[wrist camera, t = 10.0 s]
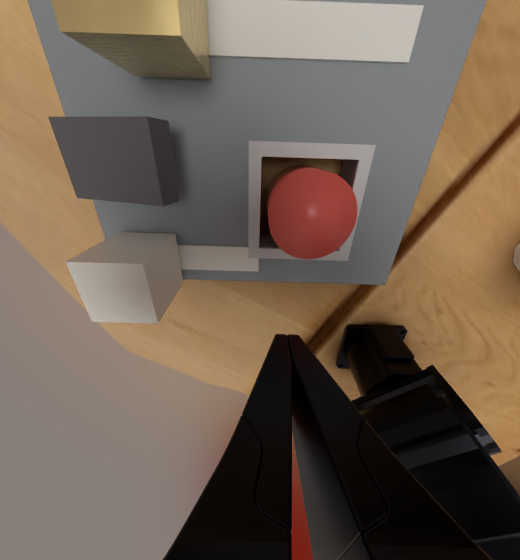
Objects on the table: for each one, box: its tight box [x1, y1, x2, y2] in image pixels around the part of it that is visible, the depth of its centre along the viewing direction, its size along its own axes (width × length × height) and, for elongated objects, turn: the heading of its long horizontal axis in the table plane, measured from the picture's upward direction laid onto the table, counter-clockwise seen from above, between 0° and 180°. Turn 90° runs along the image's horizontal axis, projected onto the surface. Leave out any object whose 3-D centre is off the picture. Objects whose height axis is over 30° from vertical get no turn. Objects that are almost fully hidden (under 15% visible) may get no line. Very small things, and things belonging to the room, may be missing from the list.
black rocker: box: [49, 116, 180, 206], centre depth 13 cm, size 4×6×2 cm, turn 88°
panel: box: [28, 0, 486, 285], centre depth 15 cm, size 17×22×3 cm
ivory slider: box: [66, 232, 183, 324], centre depth 15 cm, size 4×4×5 cm
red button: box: [267, 165, 358, 259], centre depth 15 cm, size 5×5×6 cm
